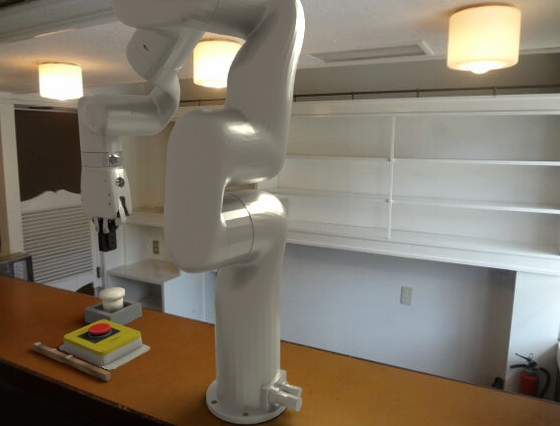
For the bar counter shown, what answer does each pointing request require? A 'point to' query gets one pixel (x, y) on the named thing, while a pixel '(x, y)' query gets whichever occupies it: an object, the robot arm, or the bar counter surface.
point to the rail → (72, 361)
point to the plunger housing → (114, 313)
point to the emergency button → (105, 344)
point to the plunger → (112, 299)
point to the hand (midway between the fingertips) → (108, 249)
